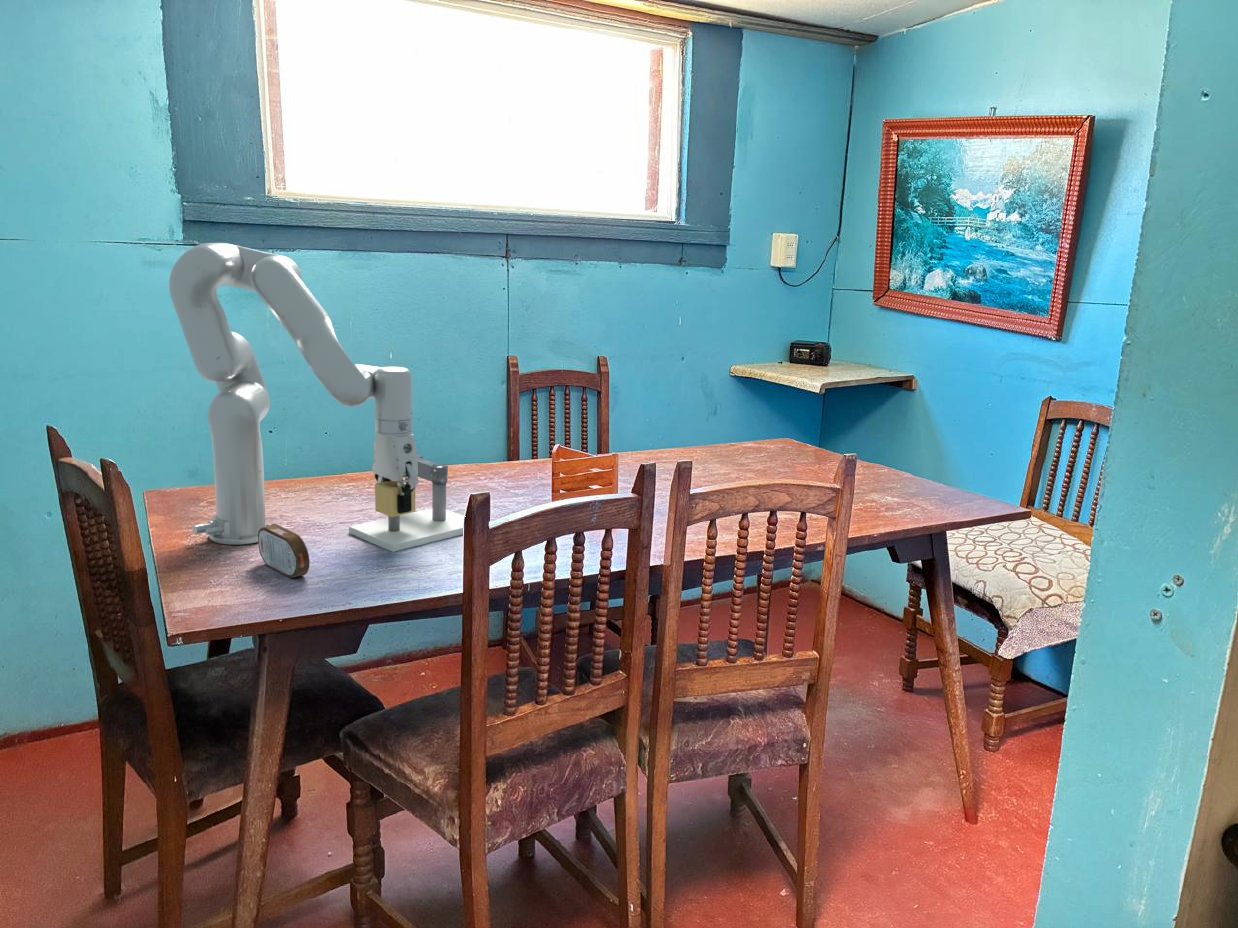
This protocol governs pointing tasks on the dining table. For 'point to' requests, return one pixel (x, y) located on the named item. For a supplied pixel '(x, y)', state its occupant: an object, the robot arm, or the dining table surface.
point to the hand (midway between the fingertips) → (395, 507)
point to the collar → (390, 498)
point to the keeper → (432, 471)
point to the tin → (283, 551)
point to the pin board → (413, 525)
